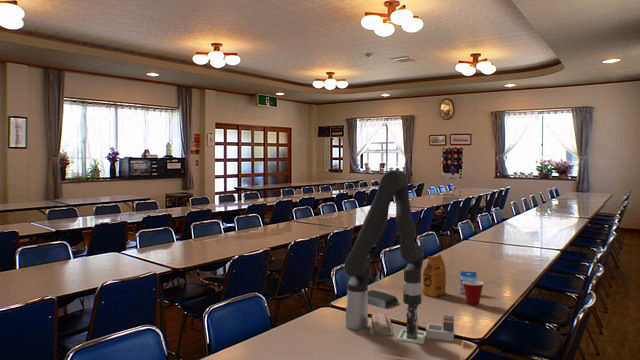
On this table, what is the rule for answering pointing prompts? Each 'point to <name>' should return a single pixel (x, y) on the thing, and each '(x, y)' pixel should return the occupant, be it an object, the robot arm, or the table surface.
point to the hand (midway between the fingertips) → (412, 331)
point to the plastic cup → (473, 291)
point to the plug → (415, 335)
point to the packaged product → (380, 324)
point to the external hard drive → (381, 299)
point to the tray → (419, 339)
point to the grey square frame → (441, 329)
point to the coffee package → (434, 277)
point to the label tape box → (466, 277)
